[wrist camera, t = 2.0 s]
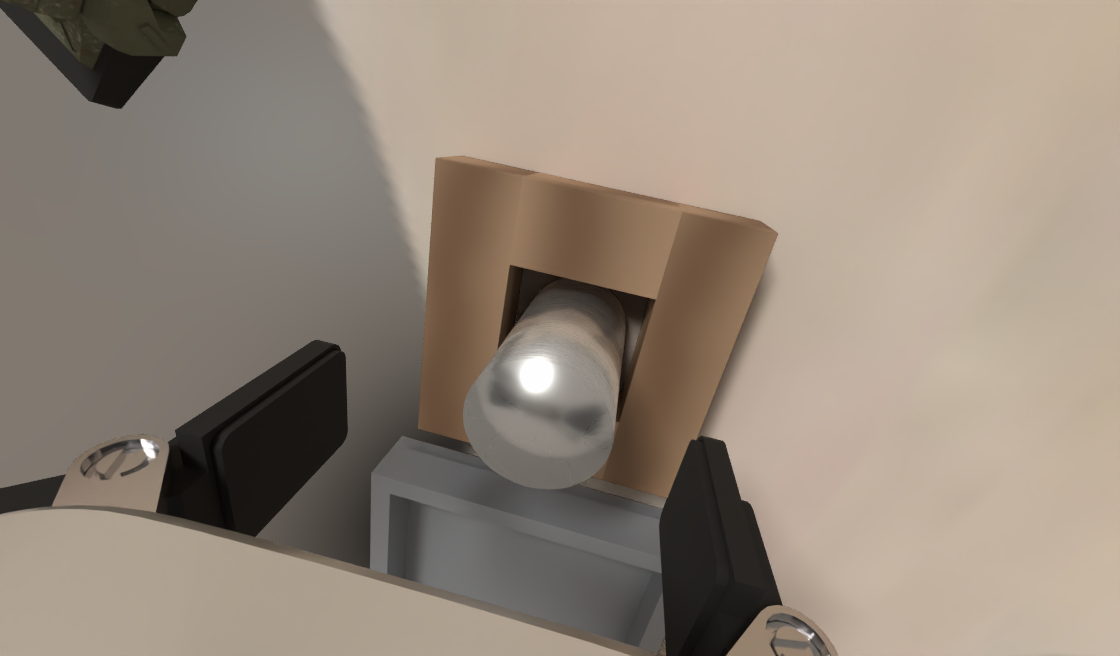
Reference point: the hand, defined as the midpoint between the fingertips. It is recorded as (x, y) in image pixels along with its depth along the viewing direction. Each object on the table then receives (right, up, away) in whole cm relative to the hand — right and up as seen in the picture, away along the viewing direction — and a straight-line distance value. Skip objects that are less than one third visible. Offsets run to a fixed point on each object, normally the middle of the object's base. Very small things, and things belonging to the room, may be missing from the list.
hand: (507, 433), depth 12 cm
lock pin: (+2, +3, +8) cm, 9 cm away
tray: (-1, -12, +15) cm, 20 cm away
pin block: (+2, +3, +8) cm, 9 cm away
